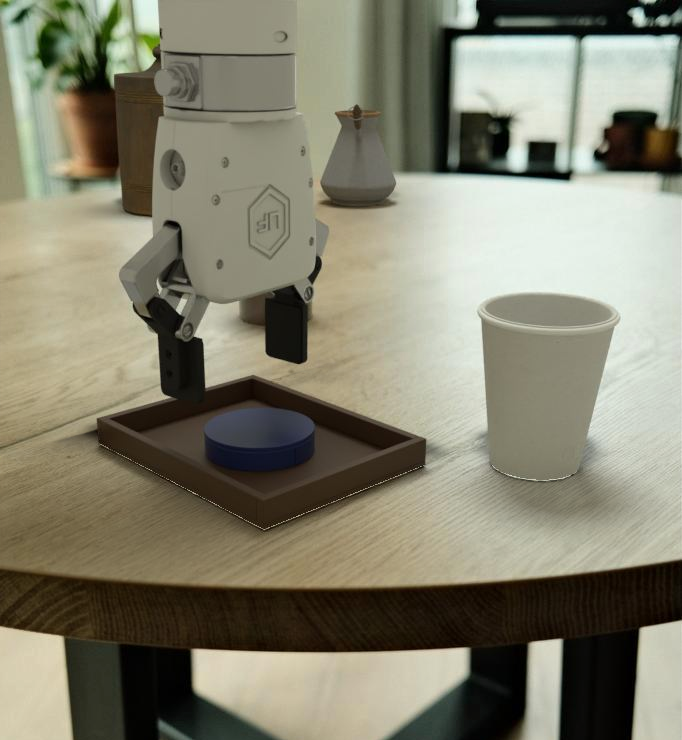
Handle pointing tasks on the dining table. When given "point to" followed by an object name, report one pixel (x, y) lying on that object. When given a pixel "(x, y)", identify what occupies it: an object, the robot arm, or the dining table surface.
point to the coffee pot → (358, 162)
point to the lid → (259, 439)
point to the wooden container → (138, 134)
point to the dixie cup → (542, 378)
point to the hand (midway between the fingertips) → (237, 377)
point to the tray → (268, 488)
